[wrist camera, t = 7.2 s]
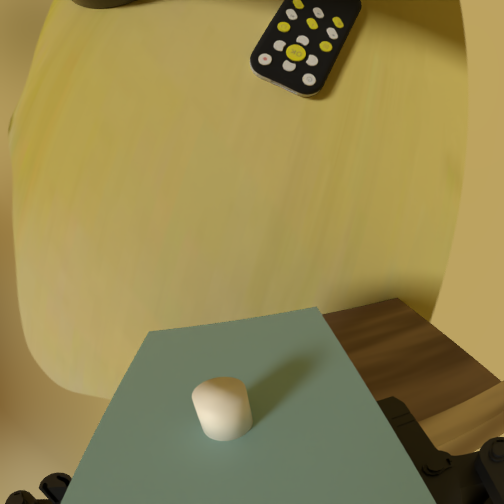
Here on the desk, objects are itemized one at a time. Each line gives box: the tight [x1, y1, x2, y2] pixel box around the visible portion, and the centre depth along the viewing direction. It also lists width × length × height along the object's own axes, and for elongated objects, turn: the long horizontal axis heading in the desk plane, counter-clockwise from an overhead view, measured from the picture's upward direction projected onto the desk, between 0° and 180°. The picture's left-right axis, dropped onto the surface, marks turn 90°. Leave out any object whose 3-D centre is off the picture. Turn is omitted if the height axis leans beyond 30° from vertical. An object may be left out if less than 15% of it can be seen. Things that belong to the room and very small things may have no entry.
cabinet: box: [61, 307, 436, 504], centre depth 8 cm, size 11×7×10 cm, turn 9°
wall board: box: [322, 298, 504, 456], centre depth 18 cm, size 2×22×17 cm, turn 99°
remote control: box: [250, 0, 361, 97], centre depth 21 cm, size 6×13×2 cm, turn 155°
